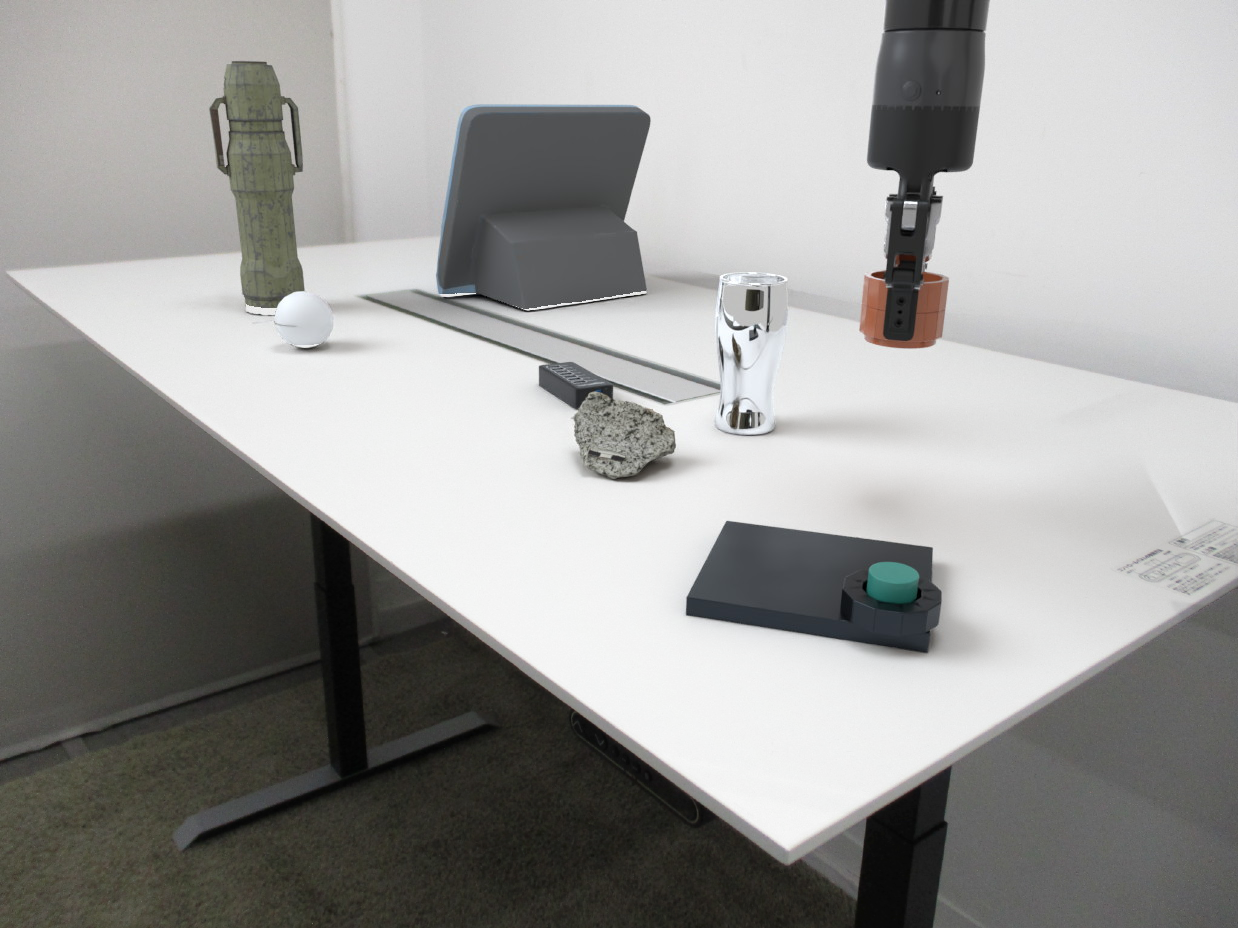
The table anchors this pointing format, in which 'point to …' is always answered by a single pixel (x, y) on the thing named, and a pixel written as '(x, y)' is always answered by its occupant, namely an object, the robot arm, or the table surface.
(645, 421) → the rock sample
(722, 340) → the beer glass
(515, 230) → the touchscreen device
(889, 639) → the scale
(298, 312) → the white ball
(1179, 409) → the table surface
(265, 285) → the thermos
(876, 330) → the terracotta cup
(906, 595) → the tare button
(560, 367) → the multiport hub
